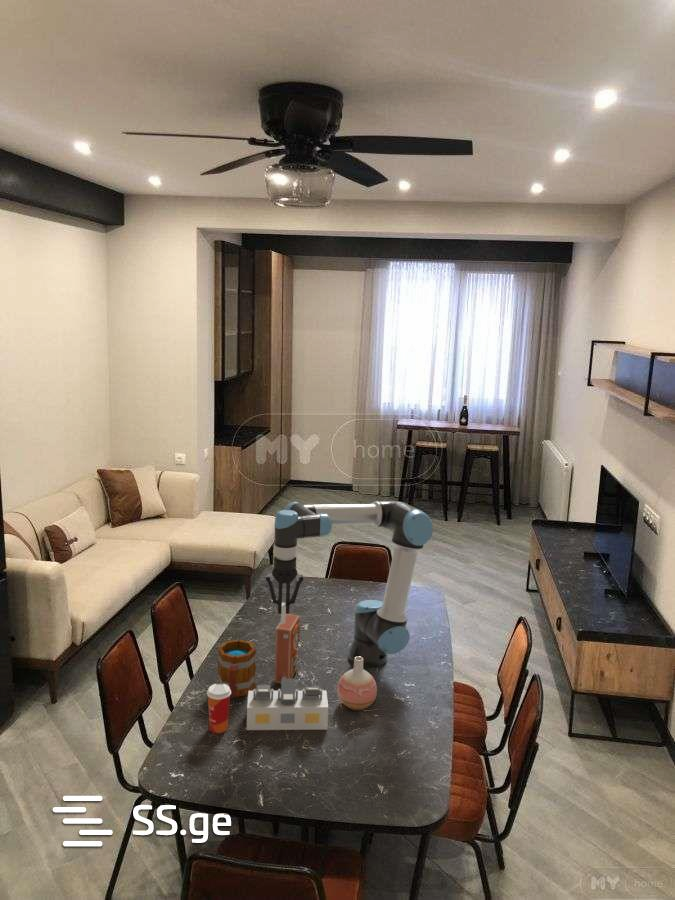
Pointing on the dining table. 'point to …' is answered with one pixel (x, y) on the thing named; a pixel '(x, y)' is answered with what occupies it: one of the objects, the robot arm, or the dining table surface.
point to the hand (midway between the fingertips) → (283, 622)
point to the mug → (237, 666)
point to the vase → (357, 687)
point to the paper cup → (218, 707)
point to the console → (287, 712)
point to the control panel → (287, 648)
